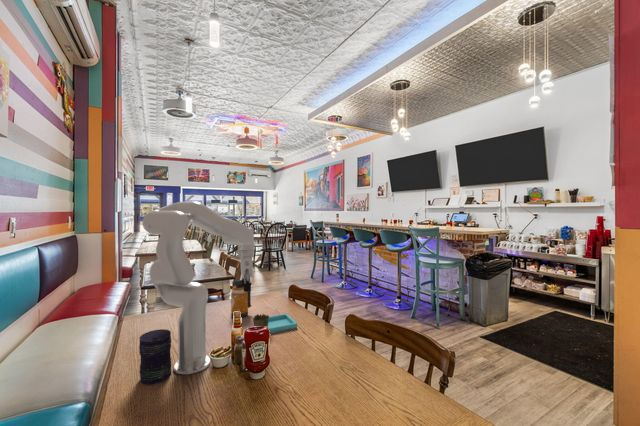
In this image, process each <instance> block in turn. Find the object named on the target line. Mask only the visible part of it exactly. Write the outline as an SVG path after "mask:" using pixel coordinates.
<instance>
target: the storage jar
mask: <svg viewBox="0 0 640 426" xmlns="http://www.w3.org/2000/svg"><path fill="white" fill-rule="evenodd" d="M171 333H172V332H171V330H169V329H164V328H162V329H155V330H150V331H148V332H144V333H143V334H142V335H140V336H139V346H138V347H139V348H138V349H139V356H140V364H139V377H140V378H139V383H140V384H141V385H144V386H154V385H157V384H160V383H162V382H165V381H167V380H168V379H169V378H170V377H171V375H172V357H171V348H172V336H171Z"/></svg>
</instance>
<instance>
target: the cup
mask: <svg viewBox="0 0 640 426" xmlns="http://www.w3.org/2000/svg"><path fill="white" fill-rule="evenodd" d="M269 317H270V316H269V315H268V314H264V313H262V314H261V313H260V314H256V315H254V317H252V321H253V327H254V326H267V327H268V320H269Z"/></svg>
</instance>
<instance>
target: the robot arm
mask: <svg viewBox="0 0 640 426" xmlns="http://www.w3.org/2000/svg"><path fill="white" fill-rule="evenodd" d="M189 224H190V225H194V226H195V227H197V228H199V229H201V230H202V231H204V232H206V233H208V234H210V235H214V236H218V237H221V240H222V241H223V242H224V244H226V245H229V246H231V245H232V246H237V257H238V258H240V273H241V280H242V286H244V292H248V291H251V292H252V284H251V283H252V282H251V278H253V277H254V272H253V271H254V269H253V267H254V266H253V257H254V256H255V241H254V240H255V239H254V233H255V232H254V228H252V227H249V226H247V225H245V224H243V223H241V222H239V221H236V220H233V219H232V218H231V219H230V218H228V217H225V216H222V215H221V214H218V212H216V211H214V210H213V209H211V208H210V207H208V206H207V205H205V204H204V203H202V202H199V201H178V202H174V203H171V204H168V205H165V206H161V207H160V208H156V209H153V210H151V211H148V212H147V213H146V214H145V216H143V219H142V226H143V229H144V230H145V231H146V233H149V234H152V235H159V238H158V240H157V243H156V247H155V254H156V257H157V259H156V260H155V261H154V262H153V263H152V264H151V266H150V268H149V278H150V281H151V282H152V284H153V286H154V288H155V290H156V291H157V293H158V294H159V296H160V298H161V299H162V301H163V302H164V303H165V304H167V305H170V306H175V307H178V308H179V307H180V308H182V310H181V313H180V314H179V317H178V321H177V340H178V341H177V344H178V348H177V349H178V350H177V351H178V353H177V354H178V356H177V357H178V360H177V361H176V362H175V363H174V364H173V365H174V366H173V371H174V372H175V373H176V374H178V375H192V374H197V373H199V372H201V371H204V370H205V369H207V368H208V367H209V366H210V364H211V358H210V357H209V356H208V355H207V353H206V352H207V345H206V343H207V341H206V340H207V339H206V335H207V333H206V330H207V329H206V328H207V327H206V326H207V325H206V320H207V319H206V318H207V317H206V313H207V312H206V310H207V305H208V299H209V290H208V288H207V287H206V286H205V284H203V283H200V282H197V281H193V280H194V278H195V271H194V268H193V266H192V264H191V262H190V260H189V257H188V256H187V253H186V251H185V248H184V243H183V242H184V239H185V238H184V237H185V235H186V232H187V231H188V229H189Z"/></svg>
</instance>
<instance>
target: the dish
mask: <svg viewBox="0 0 640 426" xmlns="http://www.w3.org/2000/svg"><path fill="white" fill-rule="evenodd" d="M268 328H269V330H270V334H269V335H271V334H275V333H276V334H277V333H281V332H286V331H290V330H296V329H298V322H296V320H294V319H293V318H292V317H291V316H290V315H288V313H282V314H276V315H270V316H269V320H268Z"/></svg>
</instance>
